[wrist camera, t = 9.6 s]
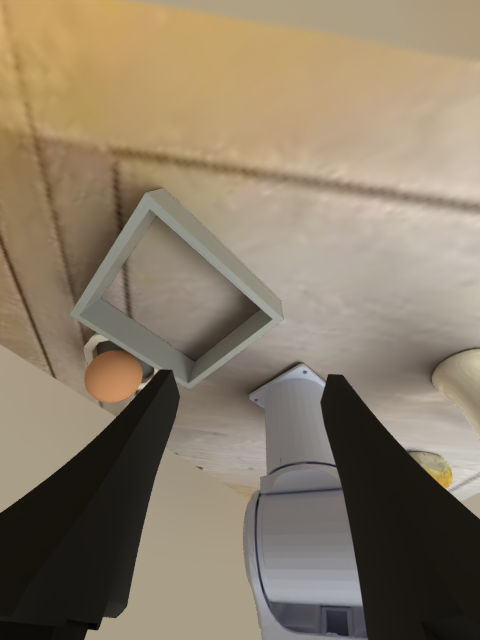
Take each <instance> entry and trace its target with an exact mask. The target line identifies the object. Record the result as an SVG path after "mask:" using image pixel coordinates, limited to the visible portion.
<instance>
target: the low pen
mask: <svg viewBox="0 0 480 640" xmlns="http://www.w3.org/2000/svg"><path fill="white" fill-rule="evenodd" d="M156 216H158V217H159V218H160V219H161V220H162V221H164V222H165V223H166V224H167V225H168V226H169V227H170V228H171V229H173V230H174V231H175V232H176V233H177V234H178V235H179V236H180V237H181V238H183V239H184V240H185V241H186V242H187V243H188V244H189V245H190V246H192V247H193V248H194V249H195V250H196V251H197V252H198V253H199V254H200V255H202V256H203V257H204V258H205V259H206V260H207V261H208V262H209V263H210V264H212V265H213V266H214V267H215V268H216V269H217V270H218V271H219V272H221V273H222V274H223V275H224V276H225V277H226V278H227V279H228V280H229V281H231V282H232V283H233V284H234V285H235V286H236V287H237V288H238V289H240V290H241V291H242V292H243V293H244V294H245V295H246V296H247V297H248V298H250V299H251V300H252V301H253V302H254V303H255V304H256V305H257V306H258V307H260V308H261V309H260V310H258V311H257V312H256V313H255V314H253V315H252V316H251V317H250V318H249V319H247V320H246V321H245V322H244V323H242V324H241V325H240V326H239V327H237V328H236V329H235V330H234V331H232V332H231V333H230V334H229V335H228V336H226V337H225V338H224V339H223V340H221V341H220V342H219V343H218V344H216V345H215V346H214V347H213V348H212V349H210V350H209V351H208V352H207V353H205V354H204V355H203V356H202V357H200V358H199V359H198V360H197V361H195V362H194V361H193V360H191V359H190V358H188V357H187V356H185V355H184V354H183V353H181V352H180V351H178V350H177V349H175V348H174V347H172V346H171V345H169V344H168V343H166V342H165V341H163V340H162V339H160V338H159V337H157V336H156V335H155V334H153V333H152V332H150V331H149V330H147V329H146V328H144V327H143V326H141V325H140V324H138V323H137V322H135V321H134V320H132V319H131V318H129V317H128V316H127V315H125V314H124V313H122V312H121V311H119V310H118V309H116V308H115V307H113V306H112V305H110V304H109V303H107V302H106V301H104V300H103V299H102V298H100V297H101V296H102V294H103V293H104V292H105V290H106V289H107V287H108V286H109V284H110V283H111V281H112V280H113V278H114V277H115V276H116V274H117V273H118V271H119V270H120V268H121V267H122V265H123V264H124V262H125V261H126V259H127V258H128V257H129V255H130V254H131V252H132V251H133V249H134V248H135V246H136V245H137V243H138V242H139V241H140V239H141V238H142V236H143V235H144V233H145V232H146V230H147V229H148V227H149V226H150V224H151V223H152V222H153V220H154V219H155V217H156ZM70 316H71V317H73V318H74V319H76V320H78V321H79V322H81V323H83V324H84V325H86V326H87V327H89V328H91V329H92V330H94V331H95V332H97V333H99V334H100V335H102V336H104V337H105V338H107V339H108V340H110V341H112V342H113V343H115V344H116V345H118V346H120V347H121V348H123V349H125V350H126V351H128V352H129V353H131V354H133V355H134V356H136V357H137V358H139V359H141V360H142V361H144V362H145V363H147V364H149V365H150V366H152V367H154V368H155V369H157V370H160V369H168V370H173V374H174V377H175V381H176V382H178V383H179V384H181V385H183V386H184V387H186V388H187V389H191V388H192V387H193V386H195V385H196V384H197V383H199V382H200V381H201V380H203V379H204V378H206V377H207V376H208V375H210V374H211V373H212V372H214V371H215V370H216V369H218V368H219V367H220V366H222V365H223V364H225V363H226V362H227V361H229V360H230V359H231V358H233V357H234V356H235V355H237V354H238V353H240V352H241V351H242V350H244V349H245V348H246V347H248V346H249V345H250V344H252V343H253V342H254V341H256V340H257V339H259V338H260V337H261V336H263V335H264V334H265V333H267V332H268V331H269V330H271V329H272V328H273V327H275V326H276V325H278V324H279V323H280V322H282V321H283V320H284V316H283V310H282V303H281V300H280V299H279V298H278V297H277V296H276V295H275V294H274V293H273V292H272V291H271V290H270V289H269V288H268V287H267V286H266V285H264V284H263V283H262V282H261V281H260V280H259V279H258V278H257V277H256V276H255V275H254V274H253V273H252V272H251V271H250V270H249V269H248V268H247V267H246V266H245V265H244V264H243V263H241V262H240V261H239V260H238V259H237V258H236V257H235V256H234V255H233V254H232V253H231V252H230V251H229V250H228V249H227V248H226V247H225V246H224V245H223V244H222V243H221V242H220V241H218V240H217V239H216V238H215V237H214V236H213V235H212V234H211V233H210V232H209V231H208V230H207V229H206V228H205V227H204V226H203V225H202V224H201V223H200V222H199V221H198V220H197V219H195V218H194V217H193V216H192V215H191V214H190V213H189V212H188V211H187V210H186V209H185V208H184V207H183V206H182V205H181V204H180V203H179V202H178V201H177V200H176V199H175V198H174V197H172V196H171V195H170V194H169V193H168V192H167V191H166V190H165V189H164V188H161V189H158V190H154V191H150V192H146V193H145V195H144V196H143V198H142V199H141V201H140V203H139V204H138V206H137V207H136V209H135V211H134V212H133V214H132V215H131V217H130V219H129V220H128V222H127V224H126V225H125V227H124V228H123V230H122V232H121V233H120V235H119V236H118V238H117V240H116V241H115V243H114V244H113V246H112V248H111V249H110V251H109V252H108V254H107V256H106V257H105V259H104V260H103V262H102V264H101V265H100V267H99V268H98V270H97V272H96V273H95V275H94V276H93V278H92V280H91V281H90V283H89V285H88V286H87V288H86V289H85V291H84V293H83V294H82V296H81V297H80V299H79V301H78V302H77V304H76V305H75V307H74V309H73V310H72V312H71V313H70Z"/></svg>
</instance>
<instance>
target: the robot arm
mask: <svg viewBox="0 0 480 640" xmlns="http://www.w3.org/2000/svg"><path fill="white" fill-rule="evenodd" d="M304 370H306V371H304ZM179 399H180V395H179V392H178V388H177V384H176V381H175V377H174V374H173V370H168V369H160V370H158V372H157V373H156V374H155V375H154V376H153V377H152V378H151V380H150V381H149V382H148V383H147V384H146V385H145V387H144V388H143V389H142V390H141V391H140V392H139V393H138V395H137V396H136V397H135V398H134V399H133V400H132V401H131V402H130V403H129V404H128V406H127V407H126V408H125V409H124V410H123V411H122V412H121V413H120V414H119V415H118V416H117V417H116V418H115V419H114V420H113V421H112V422H111V423H110V424H109V425H108V426H107V427H106V428H105V429H104V430H103V431H102V432H101V433H100V434H99V435H98V436H97V437H96V438H95V439H94V440H93V441H91V442H90V443H89V444H88V445H87V446H86V447H85V448H84V449H83V450H81V451H80V452H79V453H78V454H77V455H76V456H74V457H73V458H72V459H71V460H70V461H69V462H67V463H66V464H65V465H64V466H62V467H61V468H60V469H59V470H58V471H56V472H55V473H54V474H52V475H51V476H50V477H49V478H47V479H46V480H45V481H43V482H42V483H41V484H39V485H38V486H37V487H36V488H34V489H33V490H32V491H30V492H29V493H27V494H26V495H25V496H24V497H22V498H21V499H19V500H18V501H17V502H15V503H14V504H13V505H11V506H10V507H8V508H7V509H6V510H4V511H3V512H1V513H0V640H84V638H85V635H86V633H87V630H88V629H90V630H98V629H99V627H100V624H101V621H102V618H103V617H109V618H116V617H118V616H119V615H120V614H121V613H122V612H123V611H124V609H125V608H126V607H127V604H128V598H129V592H130V587H131V582H132V577H133V572H134V566H135V562H136V557H137V552H138V547H139V543H140V538H141V533H142V529H143V525H144V520H145V516H146V512H147V507H148V503H149V500H150V496H151V491H152V488H153V484H154V480H155V476H156V473H157V470H158V467H159V464H160V461H161V458H162V455H163V452H164V449H165V447H166V444H167V441H168V438H169V435H170V432H171V429H172V426H173V423H174V420H175V417H176V413H177V408H178V404H179ZM249 399H250V400H251V401H253V402H254V403H256V404H257V405H259V406H260V407H262V408H263V409H265V426H266V464H267V476H262V477H260V486H261V490H257V491H255V492H254V493H253V494H252V496H251V499H250V501H249V503H248V505H247V508H246V512H245V517H244V528H243V549H244V560H245V568H246V573H247V577H248V581H249V583H250V586H251V588H252V592H253V595H254V600H255V604H256V610H257V615H258V623H259V627H260V629H261V635H262V640H480V519H479V518H478V517H477V516H475V515H474V514H473V513H472V512H471V511H470V510H468V509H467V508H466V507H465V506H464V505H463V504H462V503H461V502H460V501H458V500H457V499H456V498H455V497H454V496H453V495H452V494H450V493H449V492H448V491H447V490H446V489H445V488H444V487H443V486H441V485H440V484H439V483H438V482H437V481H436V480H435V479H434V478H433V477H432V476H431V475H430V474H429V473H428V472H427V471H426V470H425V469H424V468H423V467H422V466H421V465H420V464H419V463H418V462H417V461H416V460H415V459H414V458H413V457H412V456H411V455H410V454H409V453H408V452H407V451H406V450H405V449H404V448H403V447H402V446H401V445H400V444H399V443H398V442H397V441H396V439H395V438H394V437H393V436H392V435H391V434H390V433H389V432H388V431H387V429H386V428H385V427H384V426H383V425H382V424H381V423H380V421H379V420H378V419H377V418H376V417H375V415H374V414H373V413H372V412H371V411H370V409H369V408H368V407H367V406H366V404H365V403H364V402H363V401H362V399H361V398H360V397H359V396H358V394H357V393H356V392H355V390H354V389H353V388H352V386H351V385H350V384H349V383H348V381H347V380H346V379H345V377H344V376H343V375H334V374H328V377H327V381H326V382H325V381H323V380H322V379H321V378H320V377H319V376H318V375H316V374H315V373H314V372H313V371H312V370H311V369H309V368H308V367H307V366H306V365H305V364H299V365H297V366H295V367H294V368H292V369H290V370H289V371H287V372H285V373H284V374H282V375H280V376H279V377H277V378H275V379H274V380H272V381H270V382H269V383H267V384H265V385H264V386H262V387H260V388H259V389H257V390H255V391H254V392H252V393H250V394H249Z"/></svg>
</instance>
